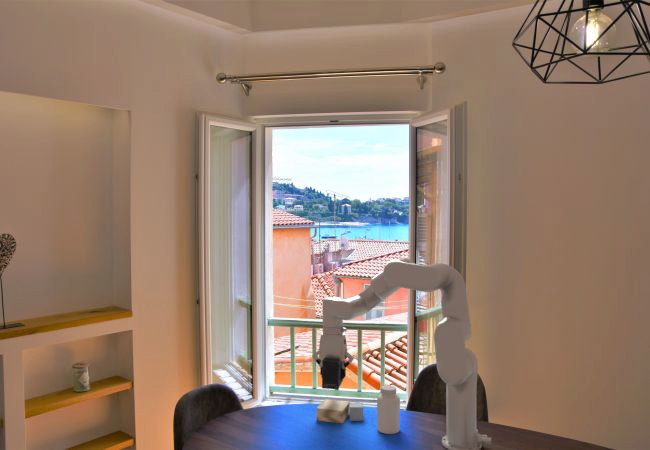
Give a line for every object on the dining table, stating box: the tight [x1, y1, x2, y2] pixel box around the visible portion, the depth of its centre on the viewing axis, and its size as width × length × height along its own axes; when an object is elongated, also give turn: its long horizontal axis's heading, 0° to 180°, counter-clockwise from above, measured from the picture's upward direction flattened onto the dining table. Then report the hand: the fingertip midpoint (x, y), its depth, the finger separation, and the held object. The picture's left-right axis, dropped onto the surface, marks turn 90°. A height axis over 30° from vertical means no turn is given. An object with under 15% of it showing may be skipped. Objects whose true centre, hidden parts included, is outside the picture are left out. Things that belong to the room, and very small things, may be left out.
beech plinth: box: [316, 398, 350, 424], centre depth 192 cm, size 10×10×4 cm
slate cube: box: [349, 401, 364, 422], centre depth 191 cm, size 5×5×5 cm
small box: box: [321, 358, 344, 390], centre depth 192 cm, size 11×6×10 cm, turn 168°
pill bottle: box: [376, 384, 401, 435], centre depth 180 cm, size 8×8×15 cm
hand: (333, 377), depth 192 cm, fingers closed on small box, 6 cm apart
